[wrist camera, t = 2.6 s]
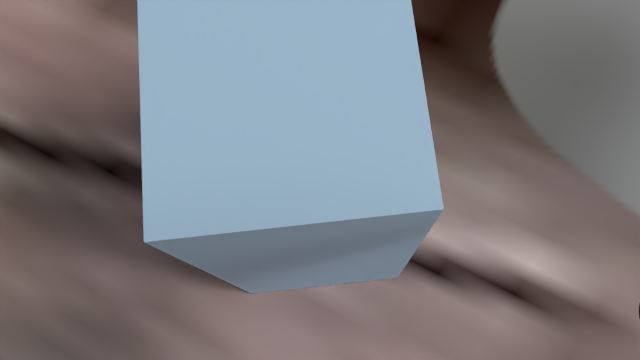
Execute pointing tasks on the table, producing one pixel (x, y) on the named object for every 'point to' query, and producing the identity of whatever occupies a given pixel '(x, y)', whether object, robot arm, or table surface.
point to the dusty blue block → (285, 139)
